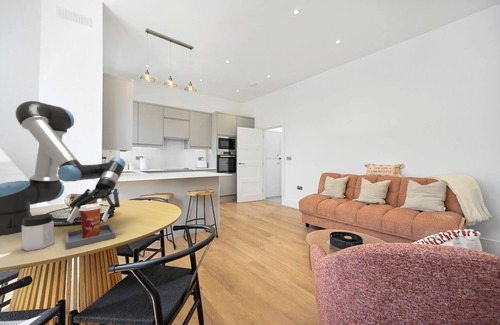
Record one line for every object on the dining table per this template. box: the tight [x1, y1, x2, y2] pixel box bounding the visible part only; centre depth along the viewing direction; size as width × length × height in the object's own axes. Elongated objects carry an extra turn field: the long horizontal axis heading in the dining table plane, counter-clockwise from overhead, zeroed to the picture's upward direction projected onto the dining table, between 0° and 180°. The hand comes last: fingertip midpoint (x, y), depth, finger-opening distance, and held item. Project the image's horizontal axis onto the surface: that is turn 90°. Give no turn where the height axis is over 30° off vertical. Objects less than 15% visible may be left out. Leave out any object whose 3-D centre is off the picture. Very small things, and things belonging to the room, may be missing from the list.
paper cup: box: [79, 203, 102, 239], centre depth 86 cm, size 8×8×14 cm
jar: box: [21, 213, 55, 252], centre depth 78 cm, size 9×8×12 cm
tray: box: [65, 223, 116, 250], centre depth 86 cm, size 16×15×2 cm
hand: (86, 221), depth 84 cm, fingers open, 13 cm apart
